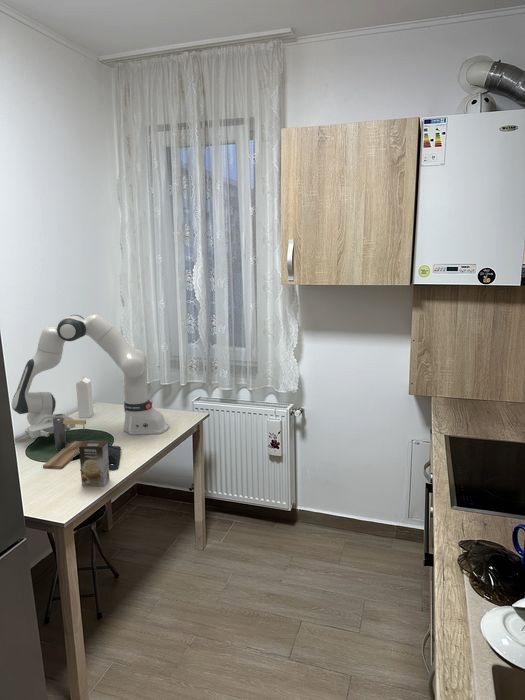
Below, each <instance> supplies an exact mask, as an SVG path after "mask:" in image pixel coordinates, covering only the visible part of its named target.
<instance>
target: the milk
mask: <svg viewBox="0 0 525 700" xmlns="http://www.w3.org/2000/svg"><path fill="white" fill-rule="evenodd" d="M75 388H76V398H77V399H76V400H77V411H78V413H77V414H78V418H79V419H81V418H84V419H85V418H87V419H89V418H91V417H92V416H93V415H94V406H93V405H94V403H93V402H94V401H93V390H92V380H91V379H89V378H87V377H86V374H84V375H83V376H81V378H80V380H78V382H76V383H75Z"/></svg>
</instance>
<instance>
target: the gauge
mask: <svg viewBox="0 0 525 700" xmlns="http://www.w3.org/2000/svg"><path fill="white" fill-rule="evenodd" d="M65 424H75V425H79V426H80V425H81V426H82V429H83V430H85V429H86V427H85V426H86V424H87V420H86V419H74V420H70V419H64V418H63V417H57V418H54V419H53V426H54V433H53V435H54V437H53V438H54V446H55V450H56V449H63V448H65V447H66V446H67V439H66V430H65Z"/></svg>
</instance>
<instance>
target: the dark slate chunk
mask: <svg viewBox="0 0 525 700" xmlns="http://www.w3.org/2000/svg"><path fill="white" fill-rule="evenodd" d="M121 448H122V447H121V446H119V445H110V444H108V460H109V470H112V471H115V470H116V469H117V470H118V468H119V466H120V465H119V464H120V460H121V459H120V458H121V450H122V449H121ZM111 464H113V465H111ZM80 472H81V468H80Z"/></svg>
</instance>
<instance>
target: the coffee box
mask: <svg viewBox="0 0 525 700" xmlns="http://www.w3.org/2000/svg"><path fill="white" fill-rule="evenodd" d="M108 443H109V442H108V440H89V439H88V440H87V439H85V440H84V442H83V443H82V444H81V445H80V446H79V452H80V453H79V464H80V469H81V471H80V476H81V477H80V478H81V486H83V487H86V486H87V487H106V485H107V484H108V482H109V481H110V471H109V460H108V445H109V444H108Z"/></svg>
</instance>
